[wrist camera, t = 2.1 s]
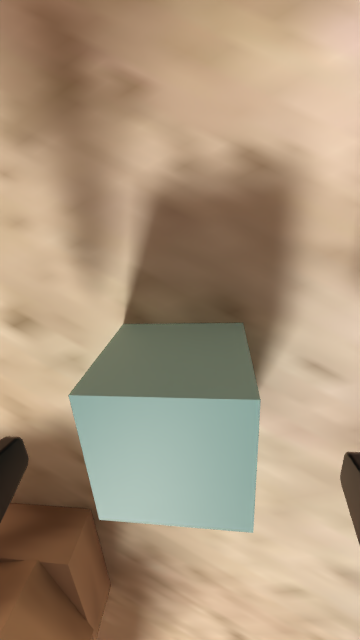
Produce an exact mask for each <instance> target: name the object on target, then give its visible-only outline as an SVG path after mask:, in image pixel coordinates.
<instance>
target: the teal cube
mask: <svg viewBox="0 0 360 640" xmlns="http://www.w3.org/2000/svg"><path fill="white" fill-rule="evenodd" d="M69 399H70V403H71V407H72V411H73V415H74V419H75V423H76V428H77V432H78V436H79V440H80V444H81V448H82V452H83V456H84V460H85V464H86V468H87V472H88V476H89V480H90V484H91V488H92V493H93V497H94V501H95V505H96V509H97V513H98V517H99V520H108V521H120V522H132V523H144V524H156V525H168V526H180V527H191V528H203V529H215V530H227V531H239V532H251V533H253V526H254V508H255V490H256V472H257V454H258V436H259V418H260V396H259V391H258V387H257V382H256V378H255V373H254V369H253V365H252V360H251V356H250V351H249V347H248V342H247V338H246V334H245V329H244V325H243V323H176V324H123V325H122V326H121V328H120V329H119V330H118V332H117V333H116V334H115V336H114V337H113V338H112V339H111V341H110V342H109V343H108V345H107V346H106V347H105V349H104V350H103V351H102V352H101V354H100V355H99V356H98V358H97V359H96V360H95V362H94V363H93V364H92V365H91V367H90V368H89V369H88V371H87V372H86V373H85V375H84V376H83V377H82V378H81V380H80V381H79V382H78V384H77V385H76V386H75V388H74V389H73V390H72V391H71V393H70V394H69Z"/></svg>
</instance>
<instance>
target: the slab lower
mask: <svg viewBox="0 0 360 640" xmlns="http://www.w3.org/2000/svg"><path fill="white" fill-rule="evenodd" d="M35 559H38V560H39V561H40V563H41V564H42V565H43V566H44V568H45V569H46V570H47V571H48V573H49V574H50V575H51V576H52V578H53V579H54V580H55V582H56V583H57V584H58V585H59V587H60V588H61V589H62V590H63V592H64V593H65V594H66V595H67V597H68V598H69V599H70V600H71V602H72V603H73V604H74V605H75V607H76V608H77V609H78V610H79V612H80V613H81V614H82V615H83V617H84V618H85V619H86V620H87V622H88V623H89V624H90V625H91V627H92V628H93V629H94V631H93V634H92V638H91V640H96V637H97V634H98V630H99V626H100V623H101V619H102V616H103V612H104V608H105V605H106V601H107V597H108V594H109V590H110V587H111V584H110V580H109V576H108V572H107V569H106V565H105V561H104V557H103V553H102V550H101V546H100V542H99V538H98V534H97V531H96V527H95V523H94V519H93V516H92V512H91V509H84V508H71V507H57V506H44V505H30V504H17V503H10V504H9V507H8V509H7V511H6V513H5V515H4V517H3V519H2V521H1V523H0V563H3V562H13V561H24V560H35Z"/></svg>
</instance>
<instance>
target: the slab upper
mask: <svg viewBox="0 0 360 640" xmlns="http://www.w3.org/2000/svg"><path fill="white" fill-rule="evenodd" d="M93 631H94V629H93V628H92V627H91V625H90V624H89V623H88V622H87V620H86V619H85V618H84V617H83V615H82V614H81V613H80V612H79V610H78V609H77V608H76V607H75V605H74V604H73V603H72V602H71V600H70V599H69V598H68V597H67V595H66V594H65V593H64V592H63V590H62V589H61V588H60V587H59V585H58V584H57V583H56V582H55V580H54V579H53V578H52V576H51V575H50V574H49V573H48V571H47V570H46V569H45V568H44V566H43V565H42V564H41V563H40V561H39V560H38V559H35V560H24V561H13V562H3V563H0V640H91V638H92V634H93Z"/></svg>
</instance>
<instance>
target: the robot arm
mask: <svg viewBox="0 0 360 640" xmlns="http://www.w3.org/2000/svg"><path fill="white" fill-rule="evenodd" d="M28 460H29V459H28V454H27V451H26V448H25V445H24V442H23V440H22V439H21V438H20V437H10V436H8V437H5V438H3V439H1V440H0V523H1V521H2V519H3V517H4V515H5V513H6V511H7V509H8V507H9V504H10V502H11V500H12V498H13V496H14V494H15V491H16V489H17V487H18V485H19V483H20V481H21V479H22V476H23V474H24V472H25V470H26V468H27V465H28ZM340 479H341V485H342V488H343V492H344V495H345V498H346V501H347V505H348V508H349V511H350V515H351V518H352V521H353V525H354V528H355V531H356V535H357V538H358V541H359V544H360V452H347V453H346V454H345V455H344V460H343V465H342V470H341V475H340Z"/></svg>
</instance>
